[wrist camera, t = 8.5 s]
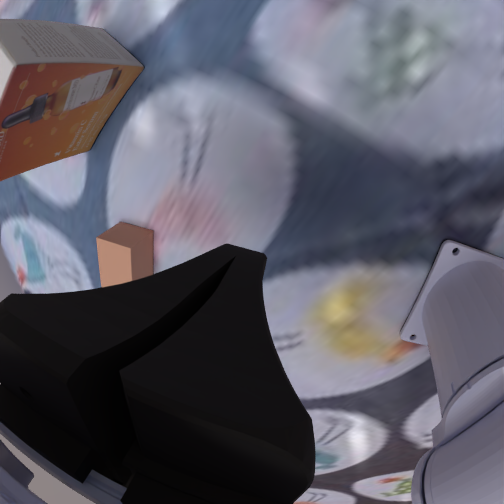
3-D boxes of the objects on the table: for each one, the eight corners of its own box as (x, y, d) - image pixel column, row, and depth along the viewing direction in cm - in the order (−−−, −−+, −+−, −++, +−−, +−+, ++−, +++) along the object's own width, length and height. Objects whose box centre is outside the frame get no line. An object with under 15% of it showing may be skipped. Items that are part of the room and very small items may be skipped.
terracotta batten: (153, 230, 23) (130, 248, 20) (159, 393, 32) (147, 413, 30) (120, 221, 23) (96, 237, 20) (136, 383, 33) (124, 402, 30)
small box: (90, 151, 21) (-25, 196, 12) (54, 109, 20) (-55, 137, 11) (148, 66, 17) (14, 65, 8) (103, 26, 16) (-20, 17, 7)
